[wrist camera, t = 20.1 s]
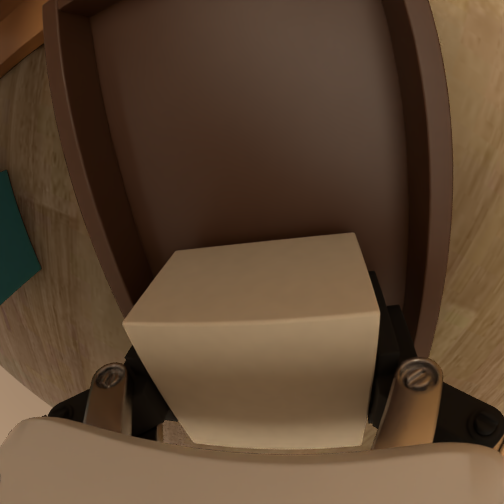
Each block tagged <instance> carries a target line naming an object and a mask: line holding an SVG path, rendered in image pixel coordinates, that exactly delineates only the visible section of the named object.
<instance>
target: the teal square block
mask: <svg viewBox="0 0 504 504" xmlns="http://www.w3.org/2000/svg"><path fill="white" fill-rule="evenodd" d="M40 270H41V266H40V264H39V262H38V259H37V257H36V255H35V252H34V250H33V247H32V245H31V242H30V240H29V237H28V235H27V232H26V229H25V227H24V224H23V221H22V218H21V215H20V213H19V210H18V207H17V204H16V200H15V197H14V194H13V191H12V187H11V184H10V181H9V177H8V173H7V170H5V171H3V172H0V305H1V304H2V303H3V302H4V301H5V300H6V299H7V298H9V297H10V296H11V295H12V294H13V293H14V292H15V291H16V290H17V289H19V288H20V287H21V286H22V285H23V284H24V283H25V282H27V281H28V280H29V279H30V278H31V277H32V276H34V275H35V274H36V273H37V272H38V271H40Z"/></svg>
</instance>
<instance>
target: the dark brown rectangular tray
mask: <svg viewBox="0 0 504 504" xmlns="http://www.w3.org/2000/svg"><path fill="white" fill-rule="evenodd" d="M42 19H43V34H44V46H45V55H46V64H47V71H48V78H49V85H50V91H51V97H52V103H53V108H54V113H55V118H56V123H57V127H58V132H59V136H60V140H61V145H62V149H63V153H64V156H65V160H66V164H67V168H68V171H69V175H70V178H71V182H72V185H73V188H74V192H75V195H76V198H77V201H78V204H79V207H80V210H81V213H82V216H83V219H84V222H85V225H86V228H87V231H88V233H89V236H90V239H91V241H92V244H93V247H94V249H95V252H96V255H97V257H98V260H99V262H100V265H101V267H102V269H103V272H104V274H105V277H106V279H107V281H108V284H109V286H110V288H111V290H112V293H113V295H114V297H115V299H116V302H117V304H118V306H119V308H120V310H121V312H122V314H123V316H124V319H125V318H126V317H127V315H128V314H129V312H130V311H131V310H132V308H133V307H134V305H135V304H136V303H137V301H138V300H139V299H140V297H141V296H142V295H143V293H144V292H145V291H146V289H147V288H148V286H149V285H150V284H151V282H152V281H153V280H154V278H155V277H156V276H157V275H158V273H159V272H160V271H161V269H162V268H163V267H164V265H165V264H166V263H167V261H168V260H169V259H170V258H171V256H172V255H173V254H174V252H175V251H178V250H187V249H196V248H206V247H215V246H224V245H234V244H243V243H253V242H262V241H272V240H282V239H292V238H302V237H312V236H322V235H332V234H342V233H355V235H356V238H357V241H358V244H359V246H360V249H361V252H362V255H363V258H364V261H365V264H366V267H367V270H368V271H375V273H376V276H377V279H378V282H379V284H380V287H381V290H382V293H383V296H384V299H385V303H386V306H390V305H400V307H401V310H402V313H403V315H404V318H405V321H406V324H407V327H408V330H409V332H410V335H411V338H412V341H413V344H414V347H415V351H416V354H417V357H425V358H428V357H429V354H430V350H431V346H432V342H433V338H434V334H435V329H436V325H437V320H438V315H439V311H440V305H441V300H442V295H443V289H444V282H445V276H446V269H447V261H448V253H449V244H450V233H451V220H452V201H453V148H452V129H451V117H450V106H449V97H448V89H447V82H446V76H445V69H444V64H443V58H442V53H441V48H440V43H439V39H438V34H437V30H436V26H435V22H434V18H433V14H432V11H431V7H430V4H429V1H428V0H49V1H47V2H46V3H45V4H43V5H42Z"/></svg>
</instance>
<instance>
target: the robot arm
mask: <svg viewBox="0 0 504 504" xmlns="http://www.w3.org/2000/svg"><path fill="white" fill-rule="evenodd" d="M368 273H369V277H370V280H371V283H372V286H373V289H374V293H375V296H376V299H377V303H378V306H379V310H380V324H379V335H378V345H377V354H376V362H375V370H374V377H373V384H372V391H371V397H370V403H369V409H368V423H373V426H374V427H376V428H377V429H378V430H377V433H376V436H375V439H374V442H373V444H372V447H371V450H370V451H359V452H346V453H331V454H303V455H282V454H254V453H238V452H227V451H217V450H208V449H200V448H193V447H186V446H179V445H173V444H168V443H163V424H162V423H163V422H164V420H169V421H176V422H178V419H177V418H176V417H175V415H174V413H173V412H172V410H171V409H170V407H169V406H168V404H167V403H166V401H165V400H164V398H163V396H162V395H161V393H160V392H159V390H158V388H157V387H156V385H155V383H154V382H153V380H152V378H151V377H150V375H149V373H148V372H147V370H146V368H145V366H144V365H143V363H142V361H141V359H140V357H139V356H138V354H137V352H136V350H135V348H134V347H133V345H132V346H131V348H130V350H129V351H128V353H127V355H126V356H125V359H126V361H125V363H124V365H123V364H122V363H117V362H116V363H109V364H106V365H104V366H103V367H101V368H100V369H99V370H97V371H96V373H95V374H94V376H93V378H92V382H91V386H90V389H88V390H86V391H84V392H82V393H80V394H78V395H76V396H74V397H71V398H69V399H67V400H65V401H63V402H61V403H59V404H57V405H56V406H54V407H53V408H52V409H51V411H50V412H49V414H48V417H47V416H46V415H44V416H42V417H34V418H29V419H26V420H23V421H21V422H20V423H18V424H17V425H16V426H15V427H14V428H13V430H11V431H10V433H9V434H8V436H7V437H6V439H5V441H4V442H3V444H2V445H1V447H0V504H504V417H503V415H502V414H501V412H500V411H499V410H498V409H496V408H495V407H493V406H491V405H489V404H487V403H485V402H483V401H480V400H478V399H476V398H474V397H472V396H470V395H468V394H466V393H464V392H462V391H460V390H458V389H456V388H454V387H452V386H450V385H448V384H446V383H444V382H443V372H442V369H441V367H440V366H439V365H438V364H437V363H436V362H435V361H433V360H431V359H429V358H425V357H417V354H416V351H415V347H414V344H413V341H412V338H411V335H410V332H409V330H408V327H407V324H406V321H405V318H404V315H403V313H402V310H401V307H400V305H390V306H386V303H385V299H384V296H383V293H382V290H381V287H380V284H379V282H378V279H377V276H376V273H375V271H368Z"/></svg>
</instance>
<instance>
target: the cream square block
mask: <svg viewBox="0 0 504 504" xmlns="http://www.w3.org/2000/svg"><path fill="white" fill-rule="evenodd" d="M379 324H380V310H379V306H378V303H377V299H376V296H375V293H374V289H373V286H372V283H371V280H370V277H369V273H368V270H367V267H366V264H365V261H364V258H363V255H362V252H361V249H360V246H359V244H358V241H357V238H356V235H355V233H342V234H332V235H322V236H312V237H302V238H292V239H282V240H272V241H262V242H253V243H243V244H234V245H224V246H215V247H206V248H196V249H187V250H178V251H175V252H174V254H173V255H172V256H171V258H170V259H169V260H168V261H167V263H166V264H165V265H164V267H163V268H162V269H161V271H160V272H159V273H158V275H157V276H156V277H155V278H154V280H153V281H152V282H151V284H150V285H149V286H148V288H147V289H146V291H145V292H144V293H143V295H142V296H141V297H140V299H139V300H138V301H137V303H136V304H135V305H134V307H133V308H132V310H131V311H130V312H129V314H128V315H127V317H126V318H125V319H124V321H123V323H122V325H123V327H124V329H125V331H126V333H127V335H128V337H129V339H130V341H131V343H132V345H133V347H134V348H135V350H136V352H137V354H138V356H139V357H140V359H141V361H142V363H143V365H144V366H145V368H146V370H147V372H148V373H149V375H150V377H151V378H152V380H153V382H154V383H155V385H156V387H157V388H158V390H159V392H160V393H161V395H162V396H163V398H164V400H165V401H166V403H167V404H168V406H169V407H170V409H171V410H172V412H173V413H174V415H175V417H176V418H177V419H178V421H179V422H180V424H181V425H182V427H183V428H184V430H185V431H186V433H187V434H188V435H189V437H190V438H191V440H192V441H193V442H194V443H198V444H206V445H215V446H225V447H238V448H255V449H321V448H337V447H350V446H359V445H361V444H362V440H363V435H364V430H365V425H366V420H367V415H368V409H369V403H370V397H371V391H372V384H373V377H374V370H375V362H376V354H377V345H378V335H379Z"/></svg>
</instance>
